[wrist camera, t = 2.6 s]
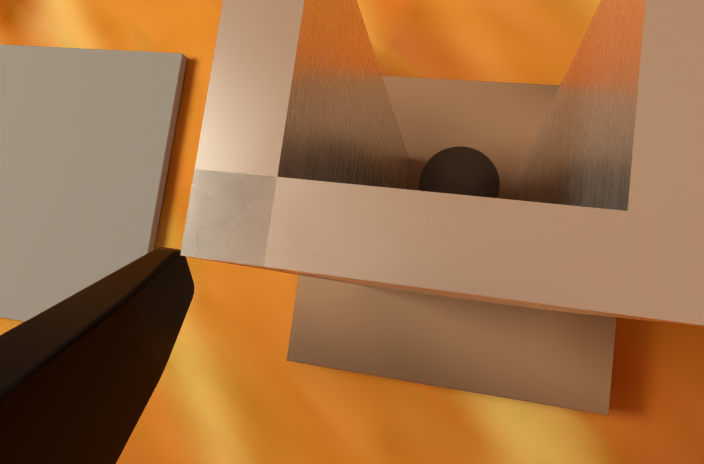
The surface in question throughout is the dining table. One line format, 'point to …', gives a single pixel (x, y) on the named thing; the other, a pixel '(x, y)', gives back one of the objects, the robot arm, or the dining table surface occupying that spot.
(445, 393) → the dining table surface
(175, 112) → the slate mat
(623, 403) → the dining table surface
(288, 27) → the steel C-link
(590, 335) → the walnut stand
